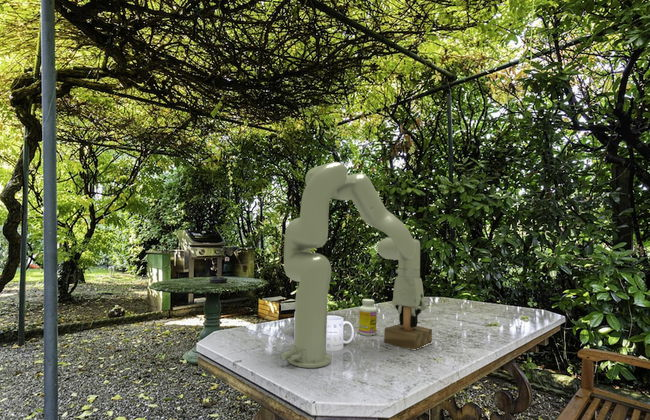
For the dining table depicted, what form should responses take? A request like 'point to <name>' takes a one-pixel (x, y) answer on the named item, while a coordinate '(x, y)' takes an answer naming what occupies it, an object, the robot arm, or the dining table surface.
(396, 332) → the socket block
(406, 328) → the peg
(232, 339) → the dining table surface
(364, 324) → the supplement bottle
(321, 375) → the dining table surface
